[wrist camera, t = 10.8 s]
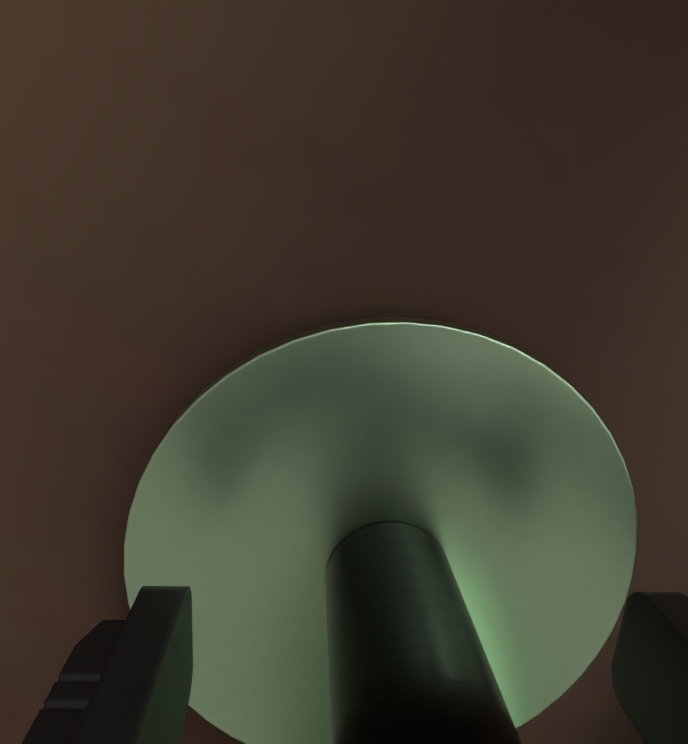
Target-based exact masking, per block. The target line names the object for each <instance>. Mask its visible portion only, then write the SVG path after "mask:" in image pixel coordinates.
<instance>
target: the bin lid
mask: <svg viewBox="0 0 688 744" xmlns="http://www.w3.org/2000/svg"><path fill="white" fill-rule="evenodd" d="M637 524H638V519H637V512H636V505H635V498H634V491H633V487H632V484H631V481H630V477H629V474H628V471H627V468H626V465H625V461H624V459H623V457H622V455H621V453H620V451H619V449H618V447H617V444H616V442H615V440H614V438H613V436H612V434H611V432H610V431H609V429H608V428H607V427H606V425H605V424H604V422H603V421H602V419H601V418H600V417H599V415H598V414H597V412H596V411H595V409H594V408H593V407H592V406H591V405H590V404H589V403H588V401H587V400H586V399H585V398H584V397H583V396H582V395H581V394H580V393H579V392H578V391H577V390H576V389H575V388H574V387H573V386H572V385H571V384H570V383H569V382H568V381H566V380H565V379H564V378H563V377H561V376H560V375H559V374H557V373H556V372H555V371H553V370H552V369H551V368H550V367H548V366H547V365H546V364H544V363H543V362H541V361H540V360H538V359H537V358H535V357H533V356H531V355H530V354H528V353H526V352H524V351H523V350H521V349H519V348H517V347H515V346H514V345H512V344H510V343H508V342H507V341H504V340H502V339H499V338H497V337H494V336H492V335H489V334H486V333H484V332H481V331H479V330H476V329H473V328H469V327H465V326H461V325H457V324H453V323H448V322H444V321H440V320H432V319H422V318H412V317H372V318H361V319H355V320H348V321H342V322H336V323H330V324H326V325H323V326H320V327H316V328H313V329H309V330H306V331H303V332H299V333H296V334H293V335H291V336H288V337H286V338H284V339H282V340H279V341H277V342H275V343H273V344H270V345H268V346H266V347H264V348H261V349H259V350H258V351H256V352H255V353H253V354H251V355H250V356H248V357H246V358H245V359H243V360H241V361H240V362H238V363H237V364H235V365H233V366H232V367H230V368H229V369H227V370H226V371H225V372H224V373H222V374H221V375H220V376H219V377H218V378H216V379H215V380H214V381H213V382H211V383H210V384H209V385H208V386H206V387H205V388H204V389H203V390H202V391H201V392H200V393H199V394H198V395H197V396H196V397H195V398H194V399H193V400H192V401H191V402H190V404H189V405H188V406H187V407H186V408H185V409H184V410H183V411H182V412H181V413H180V414H179V415H178V417H177V418H176V420H175V421H174V422H173V424H172V425H171V427H170V428H169V430H168V431H167V433H166V434H165V435H164V437H163V438H162V440H161V441H160V443H159V444H158V446H157V447H156V449H155V450H154V452H153V454H152V456H151V458H150V460H149V462H148V464H147V466H146V468H145V470H144V472H143V474H142V476H141V478H140V480H139V482H138V485H137V488H136V491H135V494H134V497H133V500H132V503H131V507H130V510H129V514H128V520H127V526H126V532H125V538H124V579H125V585H126V592H127V599H128V604H129V608H130V610H131V608H132V605H133V603H134V601H135V599H136V597H137V594H138V592H139V590H140V589H141V587H143V586H189V587H190V588H191V594H192V634H193V675H192V685H191V692H190V698H189V703H188V705H189V706H190V707H191V708H192V709H193V710H195V711H196V712H197V713H198V714H199V715H200V716H202V717H203V718H204V719H205V720H206V721H208V722H209V723H211V724H212V725H214V726H215V727H217V728H218V729H220V730H222V731H223V732H225V733H226V734H228V735H229V736H231V737H233V738H235V739H237V740H239V741H241V742H243V743H245V744H522V743H521V741H520V738H519V736H518V733H517V731H516V729H517V728H519V727H520V726H522V725H523V724H525V723H526V722H528V721H529V720H531V719H533V718H534V717H536V716H537V715H538V714H540V713H541V712H542V711H543V710H545V709H546V708H547V707H548V706H550V705H551V704H552V703H553V702H555V701H556V700H557V699H558V698H560V697H561V696H562V695H563V694H564V693H565V692H566V691H567V690H568V689H569V688H570V687H571V686H572V685H573V684H574V683H575V682H576V681H577V680H578V679H579V678H580V677H581V675H582V674H583V673H584V671H585V670H586V669H587V668H588V666H589V665H590V664H591V663H592V661H593V660H594V659H595V657H596V656H597V655H598V654H599V652H600V650H601V649H602V647H603V645H604V644H605V642H606V641H607V639H608V637H609V636H610V634H611V632H612V631H613V629H614V627H615V624H616V622H617V620H618V618H619V616H620V613H621V611H622V609H623V607H624V604H625V602H626V598H627V595H628V592H629V588H630V585H631V581H632V578H633V574H634V567H635V560H636V554H637Z"/></svg>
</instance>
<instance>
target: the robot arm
mask: <svg viewBox="0 0 688 744" xmlns="http://www.w3.org/2000/svg"><path fill="white" fill-rule="evenodd" d="M192 675H193V634H192V594H191V588H190V587H189V586H143V587H141V589H140V590H139V592H138V594H137V597H136V599H135V601H134V603H133V605H132V608H131V610H130V612H129V614H128V616H127V619H126V620H102V621H101V622H100V623H99V624H98V625H97V626H96V627H95V628H94V629H93V630H92V631H90V632H89V633H88V634H87V635H86V636H85V637H84V638H83V639H82V640H81V641H79V642H78V643H77V644H76V645H75V647H74V649H73V651H72V652H71V654H70V656H69V658H68V660H67V662H66V663H65V665H64V667H63V669H62V671H61V673H60V674H59V679H58V682H55V684H54V685H53V687H52V689H51V691H50V693H49V695H48V696H47V698H46V700H45V702H44V707H43V710H40V711H39V713H38V715H37V717H36V719H35V720H34V722H33V724H32V726H31V728H30V730H29V731H28V733H27V735H26V737H25V739H24V741H23V742H22V744H179V740H180V736H181V732H182V728H183V724H184V720H185V716H186V712H187V708H188V703H189V698H190V692H191V685H192ZM612 681H613V686H614V690H615V693H616V696H617V698H618V701H619V703H620V705H621V706H622V708H623V710H624V711H625V713H626V714H627V716H628V718H629V719H630V721H631V722H632V724H633V725H634V727H635V729H636V730H637V732H638V733H639V735H640V736H641V738H642V740H643V741H644V743H645V744H688V597H686V596H685V595H683V594H681V593H676V592H635V593H633V594H631V595H630V596H629V598H628V600H627V603H626V606H625V611H624V615H623V619H622V623H621V628H620V632H619V636H618V640H617V645H616V649H615V653H614V657H613V662H612Z"/></svg>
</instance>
